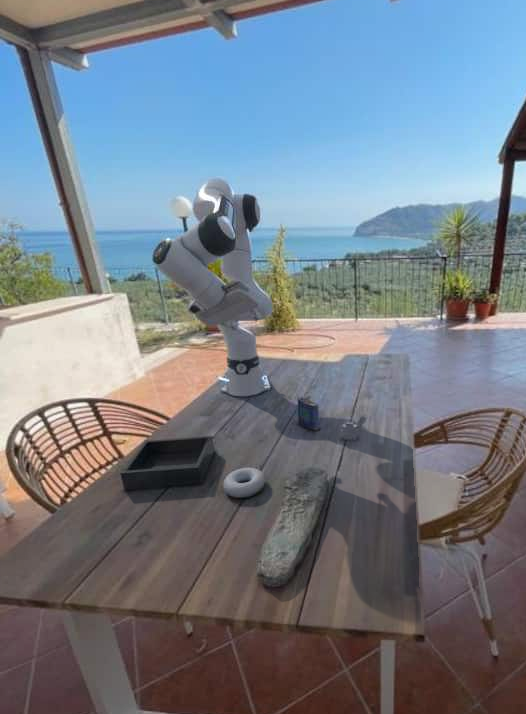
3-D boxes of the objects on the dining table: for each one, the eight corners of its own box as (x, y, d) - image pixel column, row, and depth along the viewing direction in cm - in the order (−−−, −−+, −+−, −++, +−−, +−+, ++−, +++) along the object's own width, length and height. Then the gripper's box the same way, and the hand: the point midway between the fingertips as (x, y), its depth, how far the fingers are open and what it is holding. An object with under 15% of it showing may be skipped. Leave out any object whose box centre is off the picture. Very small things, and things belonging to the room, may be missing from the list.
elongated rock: (243, 591, 69) (297, 599, 68) (241, 570, 67) (297, 578, 66) (297, 471, 101) (334, 476, 100) (296, 454, 99) (335, 459, 98)
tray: (148, 456, 109) (144, 440, 108) (214, 451, 112) (212, 436, 110) (124, 490, 95) (120, 473, 93) (201, 484, 97) (198, 467, 95)
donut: (216, 498, 92) (255, 503, 90) (213, 486, 91) (253, 490, 89) (236, 474, 101) (272, 478, 99) (234, 463, 100) (271, 466, 98)
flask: (320, 429, 124) (319, 398, 121) (313, 432, 122) (312, 401, 119) (302, 420, 130) (301, 391, 126) (295, 423, 128) (293, 393, 124)
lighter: (343, 439, 118) (342, 415, 115) (343, 436, 120) (343, 413, 117) (366, 439, 118) (366, 416, 115) (366, 437, 120) (366, 413, 117)
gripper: (241, 270, 102) (276, 303, 112) (190, 297, 112) (226, 326, 121) (235, 286, 99) (272, 320, 108) (183, 313, 108) (221, 341, 118)
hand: (247, 323), depth 115 cm, fingers open, 8 cm apart
